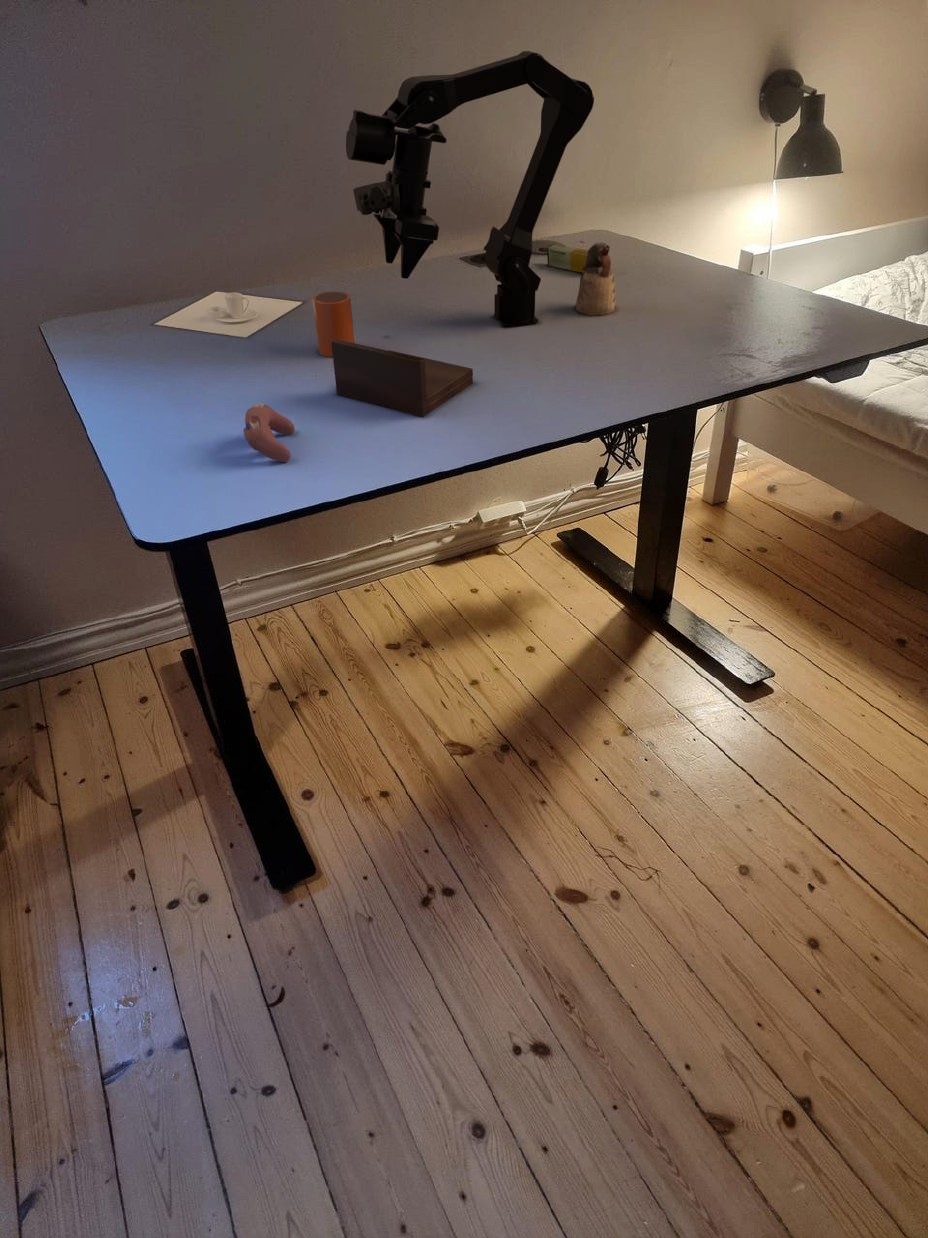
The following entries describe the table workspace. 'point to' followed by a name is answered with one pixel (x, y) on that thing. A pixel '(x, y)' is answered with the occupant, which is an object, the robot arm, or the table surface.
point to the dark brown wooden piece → (396, 378)
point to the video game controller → (267, 431)
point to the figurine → (597, 283)
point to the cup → (332, 320)
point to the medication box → (566, 257)
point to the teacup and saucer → (229, 314)
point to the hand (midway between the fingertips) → (396, 270)
